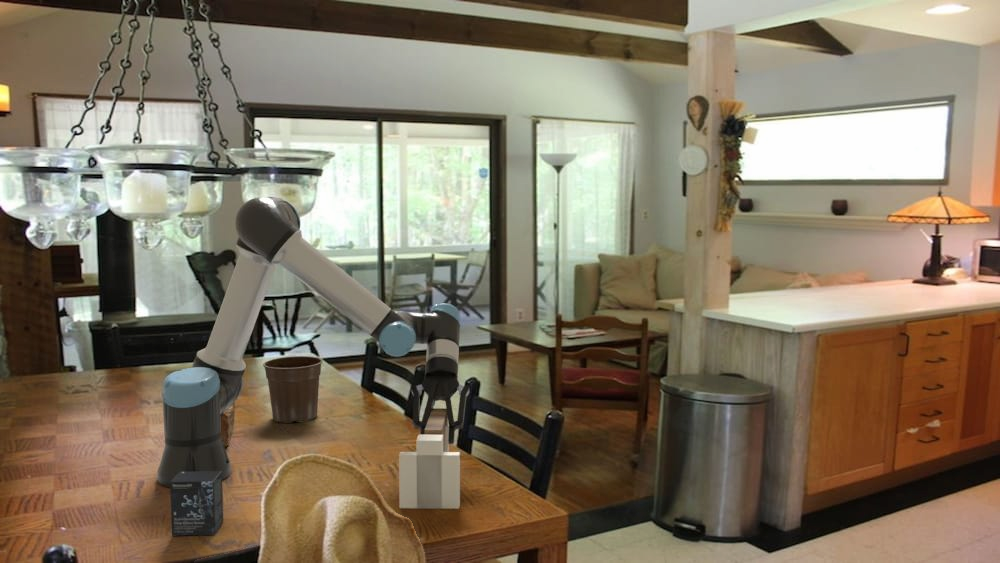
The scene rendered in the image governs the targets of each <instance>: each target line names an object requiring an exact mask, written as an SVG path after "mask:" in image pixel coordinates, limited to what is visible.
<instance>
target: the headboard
mask: <svg viewBox="0 0 1000 563" xmlns="http://www.w3.org/2000/svg"><path fill="white" fill-rule="evenodd" d="M415 442H416V447H415V448H416V450H415V451H399V453H398V472H399V473H398V480H399V481H398V490H399V491H398V492H399V494H398V497H399V504H398V505H399V509H444V510H445V509H449V510H450V509H460V506H461V495H460V494H461V489H460V488H461V479H460V478H461V476H460V475H461V472H460V471H461V469H460V468H461V464H460V463H461V461H460V460H461V458H460V456H461V452H460V451H449V452H443V435H435V434H421V433H420V434H418V435H417V437H416V441H415Z"/></svg>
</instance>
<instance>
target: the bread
mask: <svg viewBox="0 0 1000 563" xmlns="http://www.w3.org/2000/svg"><path fill="white" fill-rule="evenodd" d="M235 404H236V403H235V402H234V403H233V404H232V405H231V406H229V407H228V408H226V409H225V410H224V411H223V412H222V413H221V414H220V418H221V440H222V443H223V445H224V448H225V447H227V446H229V445H230V441H231V438H232V435H233V431H234V425H235V412H236V411H235V410H236V409H235V408H236V407H235Z"/></svg>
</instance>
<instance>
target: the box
mask: <svg viewBox="0 0 1000 563" xmlns="http://www.w3.org/2000/svg"><path fill="white" fill-rule="evenodd" d="M169 488H170V489H169V490H170V508H171V510H170V517H171V518H170V519H171V536H172V537H175V536H176V537H177V536H215V535H216V534H217V533H218V531H219V530H220V528H221V527H222V526H223V524H224V508H223V507H224V501H223V500H224V498H223V497H224V495H223V493H224V492H223V480H222V471H191V472H185V471H180V472H179V473H178V474H177V475H176V476H175V477H174V478H173V479H172V481H171V482H170V487H169Z"/></svg>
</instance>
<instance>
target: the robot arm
mask: <svg viewBox="0 0 1000 563" xmlns="http://www.w3.org/2000/svg"><path fill="white" fill-rule="evenodd" d="M234 223H235V224H234V226H235V230H236V233H237V235H238V238H237V241H236V244H235V246H236V248H237V250H238V252H239V255H238V258H237V261H236V264H235V266H234V269H233V272H232V274H231V278H230V280H229V283H228V286H227V288H226V292H225V293H224V297H223V300H222V303H221V305H220V309H219V311H218V314H217V317H216V319H215V323H214V325H213V328H212V330H211V333H210V336H209V339H208V342H207V345H206V346H205V348H202V349H200V350H198V351H197V352H196V355H195V357H194V360H193V362H192V366H191V367H187V368H182V369H180V370H176V371H175V370H174V372H171V373H169V374H168V375H167V376H166V377H165V378H164V380H163V383H162V390H161V398H162V409H163V413H162V414H163V428H164V448H163V452H162V455H161V458H160V462H159V466H158V468H157V481H158V484H159V485H161V486H163V487H166V488H170V482H171V481H172V479H173V478H174V477H175V476H176V475H177V474H178V473H179V472H180V471H185V472H191V471H222V481H223V480H225V479H226V478H228V477H229V476H230V475H231V471H232V470H231V468H232V467H231V461H230V458H229V456H228V453H227V451H226V448H225V447H224V445H223V443H222V440H221V418H220V414H221V413H222V412H223V411H224V410H225V409H226V408H228V407H229V406H231V405H232V404H233V403H235V402H236V400H237V399H238V398H239V396H240V394H241V391H242V388H243V382H244V381H243V377H244V374H245V372H246V368H247V364H246V362H245V360H244V359H243V358H244V355H245V352H246V350H247V347H248V344H249V341H250V338H251V336H252V333H253V330H254V328H255V325H256V322H257V319H258V318H259V313H260V311H261V309H262V306H263V303H264V300H265V297H266V295H267V292H268V288H269V286H270V283H271V280H272V278H273V275H274V272H275V270H276V267H277V266H278V265H280V266H281V267H282V268H284V269H285V270H286V271H288V272H289V273H290V274H292V275H293V276H294V277H295V278H297V279H298V280H299V281H300V282H302V283H303V284H304V285H306V287H308V288H309V289H310V290H312V291H313V292H314V293H316V294H317V295H318V296H320V298H322V299H323V300H325V301H326V302H327V303H328V304H330V305H331V306H332V307H333V308H335V309H336V310H337V311H338V312H340V313H341V314H343V316H345V317H346V318H348V319H349V320H350V321H351V322H353V323H354V324H355V325H357V326H358V327H359V328H360V329H361V330H363V331H364V332H365V333H367V334H368V335H369V336H371V337H372V339H373V340H375V341H376V342H378V343H379V345H380V347H381V349H382V350H383V352H385V353H386V355H389V356H391V357H402V356H403V357H404V356H405V355H406V354H408V353H409V352H410V351H411V350H412V349H413V347H414V346H415V344H419V345H426V346H427V347H426V357H425V358H426V359H425V369H424V379H423V381H422V383H421V384H418V385H415V384H412V385H411V386H410V388H411V389H410V391H411V394H412V396H413V397H412V398H413V400H412V403H413V404H412V408H413V409H412V411H413V412H412V424H413V428H414V429H419V430H420V434H425V427H426V424H427V422H428V419H429V416H430V413H431V411H432V410H433V408H434V406H435V405H436V402H437V401H443V402H445V409H447V416H448V426H445V444H444V452H450V445H453V444H454V443H455V432H456V430H458V429H459V430H462V429H464V421H465V412H466V404H467V403H466V402H467V399H468V397H469V395H470V386H469V385H468V384H465V385H461V384H460V382H459V380H458V377H459V376H458V375H459V374H458V373H459V354H460V353H459V352H460V336H461V335H460V334H461V333H460V332H461V314H460V311H459V309H458V308H457V307H456V306H454V305H453V304H450V303H445V302H442V303H440V304H434V305H433V306H432V307H431V308H430V309H429V310H430V311H429V312H414V311H413V312H412V311H401V310H396V309H394V310H393V309H391V307H389V306H388V304H386V303H384V302H383V301H382V300H381V299H379V297H377V296H376V295H374V294H373V293H372V292H371V291H369V290H368V289H367V288H365V287H364V286H363V285H362V284H361V283H360V282H358V281H357V280H356V279H355V278H353V277H352V276H351V275H349V273H347V272H346V271H345V270H344V269H342V268H341V267H339V266H338V265H337V264H336V263H335V262H333V261H332V260H331V259H330V258H328V257H327V256H326V255H324V253H322V252H321V251H320V250H318V249H317V248H316V247H314V246H313V245H312V244H311V243H309V242H308V241H307V240H306V239H305V238H303V235H302V230H301V218H300V215H299V212H298V210H297V209H296V207H295V206H294V205H293V204H292V203H290V202H288V200H285V199H284V198H280V197H277V196H267V197H263V196H261V197H260V196H259V197H255V198H252V199H249V200H248V201H246V202H244V203H243V204H242V205H241V206H240V207H239V209H238V210H237V213H236V215H235V220H234ZM422 391H424V392H425V393H426V395H427V401H426V404H425V407H424V408H425V409H424V412H423V415H422V420H420V417H421V416H420V415H421V414H420V413H421V412H420V410H421V408H420V405H421V402H420V401H421V400H420V396H421V395H422ZM457 391H458V395H459V404H458V412H457V420H455V418H454V413H453V404H452V397H453V396H454V395H455V394H456V392H457Z"/></svg>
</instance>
